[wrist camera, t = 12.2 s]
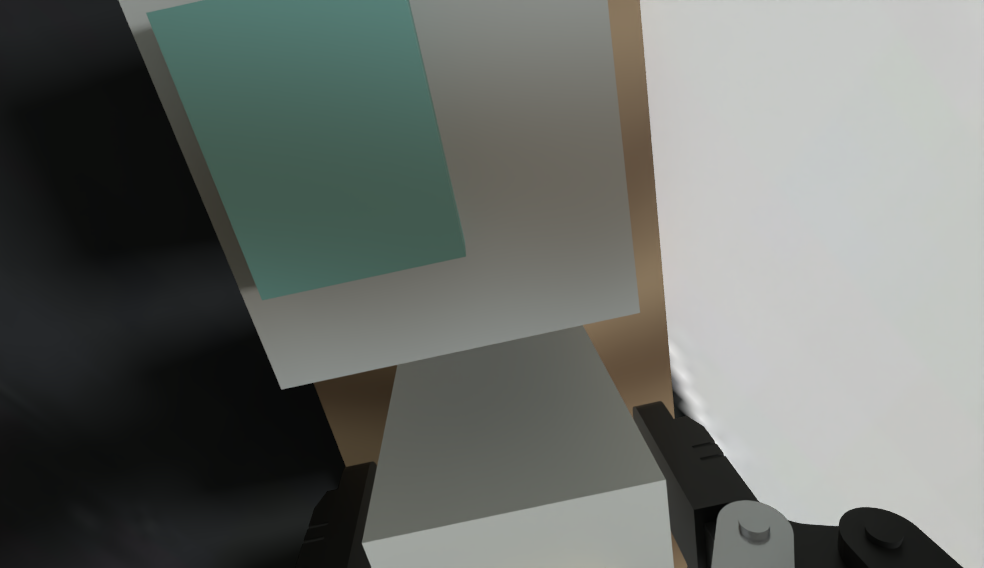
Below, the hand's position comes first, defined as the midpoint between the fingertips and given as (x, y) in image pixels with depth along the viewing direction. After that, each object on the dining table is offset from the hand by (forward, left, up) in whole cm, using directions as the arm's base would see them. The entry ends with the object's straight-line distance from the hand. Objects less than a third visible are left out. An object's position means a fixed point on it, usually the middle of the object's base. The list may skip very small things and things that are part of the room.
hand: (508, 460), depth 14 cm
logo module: (0, 0, -4) cm, 4 cm away
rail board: (0, 0, -5) cm, 5 cm away
